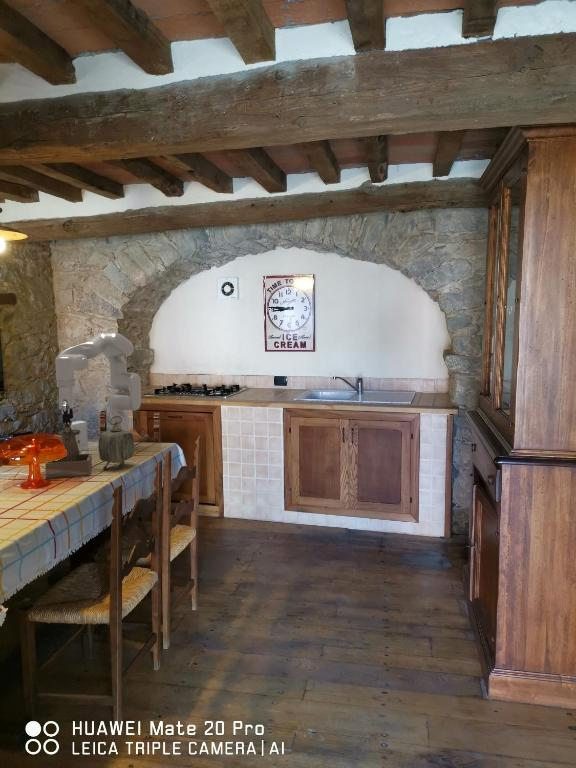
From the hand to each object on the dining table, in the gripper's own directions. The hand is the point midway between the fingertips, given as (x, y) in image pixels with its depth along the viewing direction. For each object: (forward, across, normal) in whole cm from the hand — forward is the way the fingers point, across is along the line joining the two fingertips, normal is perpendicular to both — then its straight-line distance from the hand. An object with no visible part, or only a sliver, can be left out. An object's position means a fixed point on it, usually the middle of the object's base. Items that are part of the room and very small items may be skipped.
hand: (68, 420), depth 237 cm
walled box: (+24, +1, 0) cm, 25 cm away
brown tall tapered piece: (+24, 0, 0) cm, 24 cm away
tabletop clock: (+25, -3, +20) cm, 32 cm away
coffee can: (+25, -28, -4) cm, 38 cm away
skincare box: (+26, -46, -2) cm, 53 cm away
